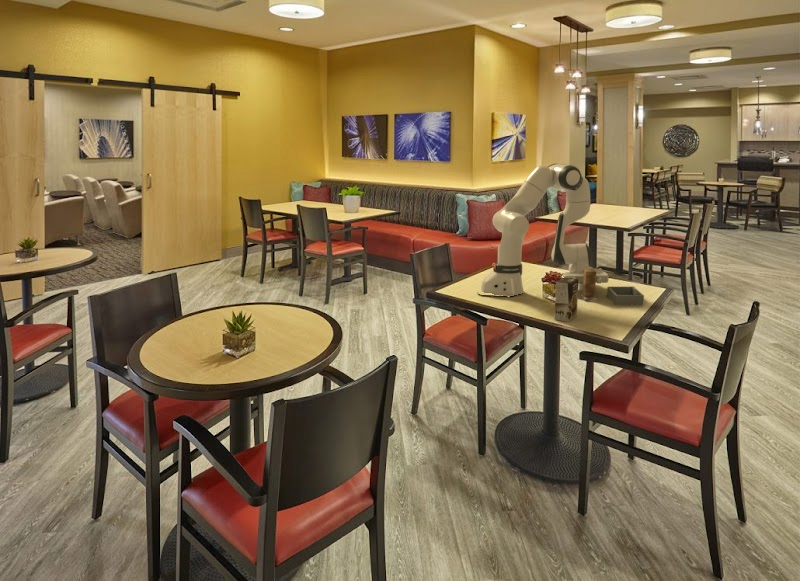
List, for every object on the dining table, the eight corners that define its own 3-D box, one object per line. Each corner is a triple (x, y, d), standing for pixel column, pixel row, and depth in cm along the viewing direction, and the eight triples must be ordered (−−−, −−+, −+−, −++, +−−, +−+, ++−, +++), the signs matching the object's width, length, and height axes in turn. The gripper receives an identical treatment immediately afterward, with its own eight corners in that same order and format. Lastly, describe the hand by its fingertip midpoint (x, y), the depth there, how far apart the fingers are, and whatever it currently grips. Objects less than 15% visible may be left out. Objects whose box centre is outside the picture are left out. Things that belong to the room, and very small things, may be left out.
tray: (615, 305, 245) (616, 295, 244) (606, 295, 260) (607, 286, 259) (643, 305, 243) (644, 295, 242) (632, 295, 258) (633, 286, 257)
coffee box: (569, 322, 225) (571, 283, 220) (553, 319, 228) (555, 281, 224) (577, 316, 232) (579, 278, 227) (562, 313, 235) (563, 276, 231)
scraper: (584, 301, 252) (586, 272, 249) (580, 295, 261) (582, 268, 257) (596, 301, 252) (598, 272, 248) (592, 295, 260) (593, 268, 257)
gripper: (560, 268, 269) (565, 275, 256) (604, 268, 267) (611, 274, 254) (559, 281, 271) (564, 288, 258) (603, 281, 269) (611, 288, 255)
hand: (588, 281), depth 256 cm, fingers open, 8 cm apart
